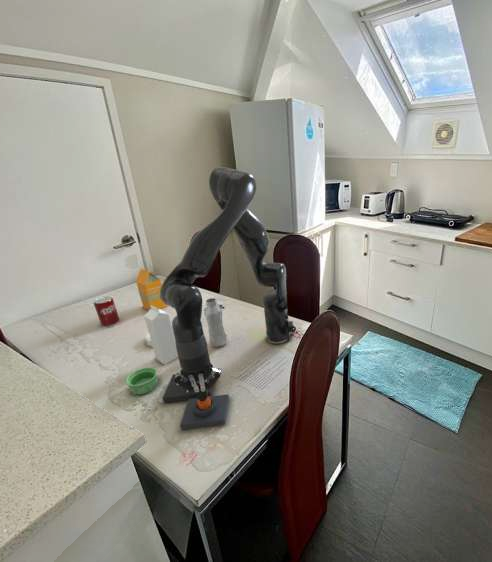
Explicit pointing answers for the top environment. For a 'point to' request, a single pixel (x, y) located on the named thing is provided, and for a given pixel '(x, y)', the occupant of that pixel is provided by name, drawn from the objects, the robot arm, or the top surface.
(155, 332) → the milk
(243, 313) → the top surface
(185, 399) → the brew base
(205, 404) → the power button
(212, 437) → the top surface
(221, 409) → the button block
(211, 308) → the plastic bottle
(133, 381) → the ramekin
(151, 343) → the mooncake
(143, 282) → the orange juice
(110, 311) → the soda can
